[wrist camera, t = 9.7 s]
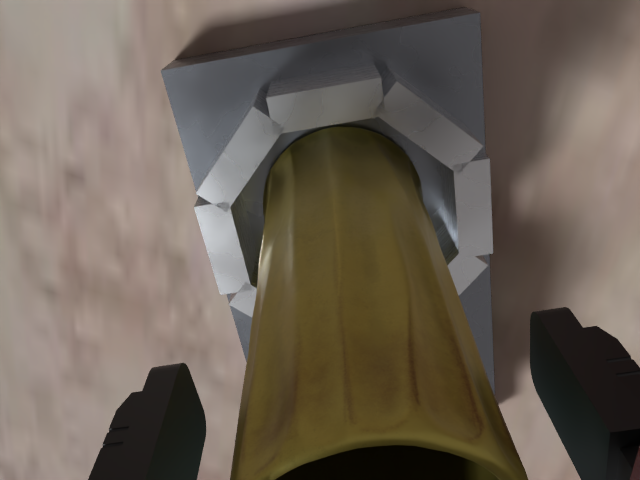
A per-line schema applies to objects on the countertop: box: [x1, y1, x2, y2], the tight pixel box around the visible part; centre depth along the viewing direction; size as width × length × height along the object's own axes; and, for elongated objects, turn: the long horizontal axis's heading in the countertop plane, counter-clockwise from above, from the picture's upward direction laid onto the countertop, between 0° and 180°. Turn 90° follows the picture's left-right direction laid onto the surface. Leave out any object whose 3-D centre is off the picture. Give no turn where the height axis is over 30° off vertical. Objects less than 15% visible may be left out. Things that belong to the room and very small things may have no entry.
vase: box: [230, 127, 528, 480], centre depth 16 cm, size 6×6×14 cm
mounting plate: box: [161, 7, 495, 395], centre depth 21 cm, size 20×11×10 cm, turn 10°
